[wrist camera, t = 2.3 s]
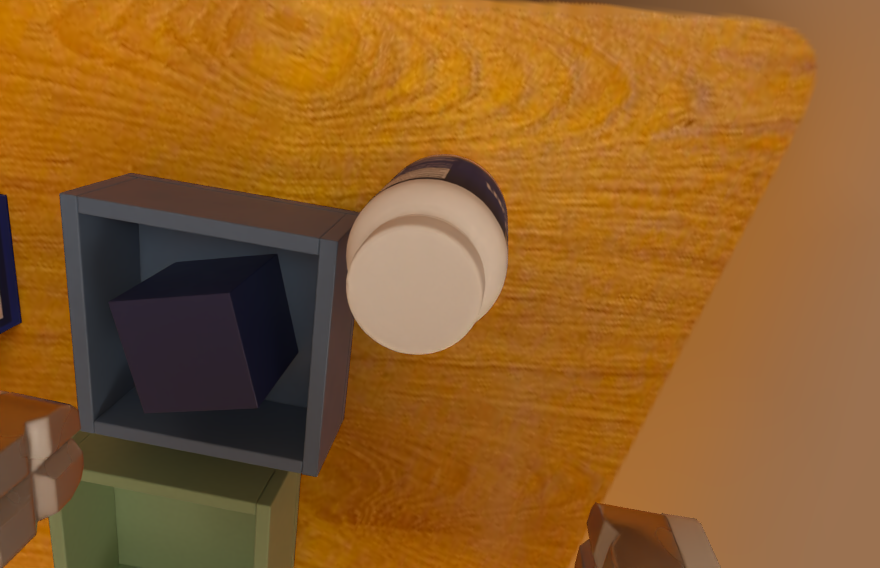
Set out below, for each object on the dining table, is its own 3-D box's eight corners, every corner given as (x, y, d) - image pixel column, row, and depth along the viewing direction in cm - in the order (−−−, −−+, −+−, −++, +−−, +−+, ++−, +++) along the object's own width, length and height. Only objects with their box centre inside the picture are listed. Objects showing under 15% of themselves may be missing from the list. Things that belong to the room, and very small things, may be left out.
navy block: (277, 253, 27) (229, 292, 22) (299, 352, 28) (258, 408, 24) (175, 261, 27) (107, 301, 23) (202, 358, 29) (143, 413, 24)
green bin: (303, 445, 31) (270, 506, 27) (291, 597, 35) (261, 672, 31) (104, 407, 31) (40, 461, 27) (114, 561, 35) (60, 630, 31)
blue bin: (365, 212, 26) (338, 241, 22) (343, 419, 30) (317, 477, 26) (130, 172, 27) (58, 192, 22) (139, 380, 31) (79, 431, 26)
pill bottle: (522, 254, 26) (530, 354, 17) (408, 285, 27) (360, 396, 18) (486, 134, 25) (475, 175, 15) (368, 174, 26) (291, 233, 16)
